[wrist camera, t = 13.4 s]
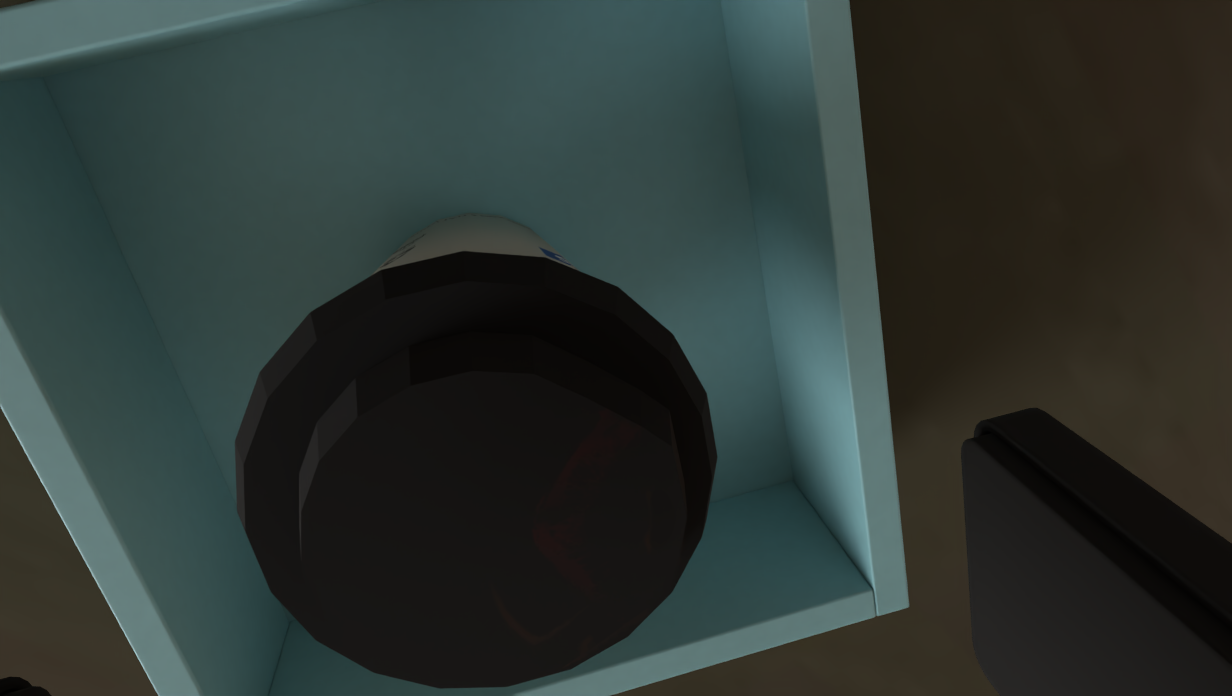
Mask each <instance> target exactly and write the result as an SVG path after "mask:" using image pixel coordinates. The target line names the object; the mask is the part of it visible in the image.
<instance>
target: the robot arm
mask: <svg viewBox="0 0 1232 696" xmlns="http://www.w3.org/2000/svg"><path fill="white" fill-rule="evenodd" d="M961 459H962V475H963V492H964V508H965V525H966V541H967V558H968V574H969V591H970V607H971V624H972V640H973V647H974V650H975V654H976V657H977V659H978V662H979V664H980V666H981V668H982V670H983V672H984V674H985V675H986V677H987V679H988V680H989V681H990V683H991V684H992V685H993V687H994V688H995V689H996V691H997V692H998V693H999V695H1000V696H1232V544H1231V543H1230V542H1229V541H1227V540H1226V539H1224V538H1223V537H1221V536H1220V535H1219V534H1217V533H1216V532H1214V531H1213V530H1212V529H1210V528H1209V527H1207V526H1206V525H1205V524H1203V523H1202V522H1200V521H1199V520H1197V519H1196V518H1195V517H1193V516H1192V515H1190V514H1189V513H1188V512H1186V511H1185V510H1183V509H1182V508H1180V507H1179V506H1178V505H1176V504H1175V503H1173V502H1172V501H1171V500H1169V499H1168V498H1166V497H1165V496H1164V495H1162V494H1161V493H1159V492H1158V491H1156V490H1155V489H1154V488H1152V487H1151V486H1149V485H1148V484H1147V483H1145V482H1144V481H1142V480H1141V479H1139V478H1138V477H1137V476H1135V475H1134V474H1132V473H1131V472H1130V471H1128V470H1127V469H1125V468H1124V467H1123V466H1121V465H1120V464H1118V463H1117V462H1115V461H1114V460H1113V459H1111V458H1110V457H1108V456H1107V455H1106V454H1104V453H1103V452H1101V451H1100V450H1098V449H1097V448H1096V447H1094V446H1093V445H1091V444H1090V443H1089V442H1087V441H1086V440H1084V439H1083V438H1081V437H1080V436H1079V435H1077V434H1076V433H1074V432H1073V431H1072V430H1070V429H1069V428H1067V427H1066V426H1065V425H1063V424H1062V423H1060V422H1059V421H1057V420H1056V419H1055V418H1053V417H1052V416H1050V415H1049V414H1048V413H1046V412H1045V411H1043V410H1040V409H1038V408H1029V409H1025V410H1021V411H1017V412H1013V413H1010V414H1006V415H1002V416H998V417H994V418H991V419H987V420H983V421H981V422H980V423H978V424H977V426H976V428H975V431H974V438H971V439H967V440H966V441H964V442H963V445H962V449H961ZM0 696H51V695H50V694H49V692H48V691H47V690H45V689H44V688H42V687H36V686H33V687H32V686H31V684H30V683H29V682H28V681H26V680H24V679H22V678H20V677H7V678H3V679H0Z"/></svg>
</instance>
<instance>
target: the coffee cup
mask: <svg viewBox="0 0 1232 696" xmlns="http://www.w3.org/2000/svg"><path fill="white" fill-rule="evenodd" d="M717 458H718V456H717V450H716V444H715V438H714V432H713V426H712V420H711V415H710V409H709V403H708V397H707V393H706V391H705V389H704V387H703V386H702V384H701V382H700V380H699V378H698V377H697V375H696V373H695V371H694V370H693V368H692V366H691V364H690V363H689V361H688V359H687V357H686V356H685V354H684V352H683V350H682V349H681V347H680V345H679V343H678V342H677V340H676V338H675V336H674V335H673V334H672V333H671V332H670V331H669V330H668V329H667V328H665V327H664V326H663V325H662V324H661V323H660V322H658V321H657V320H656V319H655V318H654V317H653V316H652V315H650V314H649V313H648V312H647V311H646V310H645V309H643V308H642V307H641V306H640V305H639V304H638V303H636V302H635V301H634V300H633V299H632V298H631V297H629V296H628V295H627V294H626V293H625V292H624V291H622V290H621V289H620V288H619V287H618V286H615V285H613V284H610V283H608V282H605V281H603V280H600V279H598V278H595V277H593V276H590V275H588V274H586V273H583V272H581V271H579V270H578V269H577V268H575V267H574V266H573V265H572V264H571V263H570V262H569V261H568V260H566V259H565V258H564V257H563V256H562V255H561V254H560V253H558V252H557V251H556V250H555V249H554V248H553V247H552V246H550V245H549V244H548V243H547V242H546V241H545V240H543V239H542V238H541V237H540V236H539V235H537V234H536V233H535V232H534V231H533V230H532V229H530V228H529V227H527V226H525V225H522V224H520V223H517V222H515V221H513V220H510V219H508V218H505V217H503V216H501V215H489V214H478V213H466V214H461V215H457V216H452V217H448V218H444V219H439V220H437V221H435V222H433V223H432V224H430V225H428V226H427V227H425V228H423V229H422V230H420V231H418V232H417V233H415V234H413V235H412V236H411V237H409V238H408V239H407V240H406V241H405V242H404V243H403V244H402V245H401V246H400V247H399V248H398V249H397V250H396V251H395V252H394V253H393V254H392V255H391V256H390V257H389V258H388V259H387V260H386V261H385V262H384V263H383V264H382V265H381V266H380V267H379V268H378V269H377V270H376V271H375V272H374V273H373V274H372V275H371V276H370V277H368V278H366V279H365V280H363V281H361V282H360V283H358V284H356V285H355V286H353V287H351V288H350V289H348V290H346V291H345V292H343V293H341V294H340V295H338V296H336V297H335V298H333V299H331V300H330V301H328V302H326V303H325V304H323V305H321V306H320V307H318V308H316V309H314V310H313V311H311V312H310V313H309V314H308V315H307V316H306V318H305V319H304V320H303V321H302V322H301V324H300V325H299V326H298V327H297V328H296V329H295V331H294V332H293V333H292V334H291V335H290V337H289V338H288V339H287V340H286V341H285V342H284V344H283V345H282V346H281V347H280V348H279V350H278V351H277V352H276V353H275V354H274V355H273V357H272V358H271V359H270V360H269V361H268V363H267V364H266V365H265V366H264V367H263V369H262V370H261V371H260V372H259V375H258V378H257V381H256V383H255V386H254V389H253V392H252V394H251V397H250V400H249V403H248V406H247V408H246V411H245V414H244V417H243V420H242V422H241V425H240V428H239V431H238V434H237V436H236V439H235V466H236V497H237V513H238V515H239V518H240V520H241V523H242V525H243V527H244V530H245V532H246V535H247V537H248V539H249V542H250V544H251V546H252V549H253V551H254V554H255V556H256V558H257V561H258V563H259V565H260V568H261V570H262V572H263V575H264V577H265V579H266V582H267V584H268V586H269V589H270V591H271V593H272V594H273V595H274V596H275V597H276V598H277V599H278V600H279V601H280V603H281V604H282V605H283V606H284V607H285V608H286V609H287V610H288V611H289V612H290V613H291V614H292V615H293V616H294V618H295V619H296V620H297V621H298V622H299V623H300V624H301V625H302V626H303V627H304V628H305V629H306V630H307V632H308V633H309V634H310V635H311V636H312V637H313V638H314V639H315V640H316V641H318V642H319V643H321V644H323V645H325V646H327V647H328V648H330V649H332V650H334V651H336V652H337V653H339V654H341V655H343V656H344V657H346V658H348V659H350V660H352V661H353V662H355V663H357V664H359V665H360V666H362V667H364V668H366V669H368V670H369V671H371V672H373V673H376V674H380V675H384V676H388V677H393V678H397V679H401V680H405V681H409V682H414V683H418V684H422V685H426V686H430V687H435V688H439V689H444V688H490V687H509V686H513V685H516V684H520V683H523V682H527V681H531V680H534V679H538V678H542V677H545V676H549V675H553V674H556V673H560V672H563V671H567V670H571V669H573V668H574V667H576V666H578V665H580V664H581V663H583V662H585V661H587V660H588V659H590V658H592V657H593V656H595V655H597V654H599V653H600V652H602V651H604V650H606V649H607V648H609V647H611V646H613V645H614V644H616V643H618V642H620V641H621V640H623V639H625V638H627V637H628V636H629V635H630V634H631V633H632V632H633V631H634V630H635V629H636V628H637V627H638V626H639V625H640V624H641V623H642V622H643V621H644V620H645V619H646V618H647V617H648V616H649V615H650V614H651V613H652V612H653V611H654V610H655V609H656V608H657V607H658V606H659V605H660V604H661V603H662V602H663V601H664V600H665V599H666V598H667V597H668V596H669V595H670V594H671V593H672V592H673V590H674V588H675V586H676V585H677V583H678V581H679V579H680V577H681V575H682V573H683V572H684V570H685V568H686V566H687V564H688V562H689V560H690V559H691V557H692V555H693V553H694V551H695V549H696V548H697V546H698V544H699V542H700V540H701V538H702V535H703V531H704V527H705V523H706V520H707V514H708V509H709V503H710V497H711V492H712V486H713V480H714V475H715V469H716V463H717Z"/></svg>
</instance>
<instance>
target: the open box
mask: <svg viewBox="0 0 1232 696" xmlns="http://www.w3.org/2000/svg"><path fill="white" fill-rule="evenodd" d="M466 213H478V214H489V215H501V216H503V217H505V218H508V219H510V220H513V221H515V222H517V223H520V224H522V225H525V226H527V227H529V228H530V229H532V230H533V231H534V232H535V233H536V234H537V235H539V236H540V237H541V238H542V239H543V240H545V241H546V242H547V243H548V244H549V245H550V246H552V247H553V248H554V249H555V250H556V251H557V252H558V253H560V254H561V255H562V256H563V257H564V258H565V259H566V260H568V261H569V262H570V263H571V264H572V265H573V266H574V267H575V268H577V269H578V270H579V271H581V272H583V273H586V274H588V275H590V276H593V277H595V278H598V279H600V280H603V281H605V282H608V283H610V284H613V285H615V286H618V287H619V288H620V289H621V290H622V291H624V292H625V293H626V294H627V295H628V296H629V297H631V298H632V299H633V300H634V301H635V302H636V303H638V304H639V305H640V306H641V307H642V308H643V309H645V310H646V311H647V312H648V313H649V314H650V315H652V316H653V317H654V318H655V319H656V320H657V321H658V322H660V323H661V324H662V325H663V326H664V327H665V328H667V329H668V330H669V331H670V332H671V333H672V334H673V335H674V336H675V338H676V340H677V342H678V343H679V345H680V347H681V349H682V350H683V352H684V354H685V356H686V357H687V359H688V361H689V363H690V364H691V366H692V368H693V370H694V371H695V373H696V375H697V377H698V378H699V380H700V382H701V384H702V386H703V387H704V389H705V391H706V393H707V397H708V403H709V409H710V415H711V420H712V426H713V432H714V438H715V444H716V450H717V456H718V458H717V463H716V469H715V475H714V480H713V486H712V492H711V497H710V503H709V509H708V514H707V520H706V523H705V527H704V531H703V535H702V538H701V540H700V542H699V544H698V546H697V548H696V549H695V551H694V553H693V555H692V557H691V559H690V560H689V562H688V564H687V566H686V568H685V570H684V572H683V573H682V575H681V577H680V579H679V581H678V583H677V585H676V586H675V588H674V590H673V592H672V593H671V594H670V595H669V596H668V597H667V598H666V599H665V600H664V601H663V602H662V603H661V604H660V605H659V606H658V607H657V608H656V609H655V610H654V611H653V612H652V613H651V614H650V615H649V616H648V617H647V618H646V619H645V620H644V621H643V622H642V623H641V624H640V625H639V626H638V627H637V628H636V629H635V630H634V631H633V632H632V633H631V634H630V635H629V636H628V637H627V638H625V639H623V640H621V641H620V642H618V643H616V644H614V645H613V646H611V647H609V648H607V649H606V650H604V651H602V652H600V653H599V654H597V655H595V656H593V657H592V658H590V659H588V660H587V661H585V662H583V663H581V664H580V665H578V666H576V667H574V668H573V669H571V670H567V671H563V672H560V673H556V674H553V675H549V676H545V677H542V678H538V679H534V680H531V681H527V682H523V683H520V684H516V685H513V686H509V687H490V688H444V689H439V688H435V687H430V686H426V685H422V684H418V683H414V682H409V681H405V680H401V679H397V678H393V677H388V676H384V675H380V674H376V673H373V672H371V671H369V670H368V669H366V668H364V667H362V666H360V665H359V664H357V663H355V662H353V661H352V660H350V659H348V658H346V657H344V656H343V655H341V654H339V653H337V652H336V651H334V650H332V649H330V648H328V647H327V646H325V645H323V644H321V643H319V642H318V641H316V640H315V639H314V638H313V637H312V636H311V635H310V634H309V633H308V632H307V630H306V629H305V628H304V627H303V626H302V625H301V624H300V623H299V622H298V621H297V620H296V619H295V618H294V616H293V615H292V614H291V613H290V612H289V611H288V610H287V609H286V608H285V607H284V606H283V605H282V604H281V603H280V601H279V600H278V599H277V598H276V597H275V596H274V595H273V594H272V593H271V591H270V589H269V586H268V584H267V582H266V579H265V577H264V575H263V572H262V570H261V568H260V565H259V563H258V561H257V558H256V556H255V554H254V551H253V549H252V546H251V544H250V542H249V539H248V537H247V535H246V532H245V530H244V527H243V525H242V523H241V520H240V518H239V515H238V513H237V497H236V466H235V439H236V436H237V434H238V431H239V428H240V425H241V422H242V420H243V417H244V414H245V411H246V408H247V406H248V403H249V400H250V397H251V394H252V392H253V389H254V386H255V383H256V381H257V378H258V375H259V372H260V371H261V370H262V369H263V367H264V366H265V365H266V364H267V363H268V361H269V360H270V359H271V358H272V357H273V355H274V354H275V353H276V352H277V351H278V350H279V348H280V347H281V346H282V345H283V344H284V342H285V341H286V340H287V339H288V338H289V337H290V335H291V334H292V333H293V332H294V331H295V329H296V328H297V327H298V326H299V325H300V324H301V322H302V321H303V320H304V319H305V318H306V316H307V315H308V314H309V313H310V312H311V311H313V310H314V309H316V308H318V307H320V306H321V305H323V304H325V303H326V302H328V301H330V300H331V299H333V298H335V297H336V296H338V295H340V294H341V293H343V292H345V291H346V290H348V289H350V288H351V287H353V286H355V285H356V284H358V283H360V282H361V281H363V280H365V279H366V278H368V277H370V276H371V275H372V274H373V273H374V272H375V271H376V270H377V269H378V268H379V267H380V266H381V265H382V264H383V263H384V262H385V261H386V260H387V259H388V258H389V257H390V256H391V255H392V254H393V253H394V252H395V251H396V250H397V249H398V248H399V247H400V246H401V245H402V244H403V243H404V242H405V241H406V240H407V239H408V238H409V237H411V236H412V235H413V234H415V233H417V232H418V231H420V230H422V229H423V228H425V227H427V226H428V225H430V224H432V223H433V222H435V221H437V220H439V219H444V218H448V217H452V216H457V215H461V214H466ZM0 407H1V409H2V411H3V413H4V414H5V416H6V418H7V420H8V422H9V423H10V425H11V427H12V429H13V431H14V433H15V434H16V436H17V438H18V440H19V442H20V444H21V445H22V447H23V449H24V451H25V453H26V455H27V456H28V458H29V460H30V462H31V464H32V466H33V467H34V469H35V471H36V473H37V475H38V476H39V478H40V480H41V482H42V484H43V486H44V487H45V489H46V491H47V493H48V495H49V497H50V498H51V500H52V502H53V504H54V506H55V508H56V509H57V511H58V513H59V515H60V517H61V518H62V520H63V522H64V524H65V526H66V528H67V529H68V531H69V533H70V535H71V537H72V539H73V540H74V542H75V544H76V546H77V548H78V550H79V551H80V553H81V555H82V557H83V559H84V561H85V562H86V564H87V566H88V568H89V570H90V571H91V573H92V575H93V577H94V579H95V581H96V582H97V584H98V586H99V588H100V590H101V592H102V593H103V595H104V597H105V599H106V601H107V603H108V604H109V606H110V608H111V610H112V612H113V614H114V615H115V617H116V619H117V621H118V623H119V624H120V626H121V628H122V630H123V632H124V634H125V635H126V637H127V639H128V641H129V643H130V645H131V646H132V648H133V650H134V652H135V654H136V656H137V657H138V659H139V661H140V663H141V665H142V667H143V668H144V670H145V672H146V674H147V676H148V677H149V679H150V681H151V683H152V685H153V687H154V688H155V690H156V692H157V694H158V696H610V695H613V694H617V693H620V692H624V691H627V690H630V689H634V688H637V687H640V686H644V685H647V684H651V683H654V682H657V681H661V680H664V679H667V678H671V677H674V676H677V675H681V674H684V673H688V672H691V671H694V670H698V669H701V668H704V667H708V666H711V665H715V664H718V663H721V662H725V661H728V660H731V659H735V658H738V657H742V656H745V655H748V654H752V653H755V652H758V651H762V650H765V649H769V648H772V647H775V646H779V645H782V644H785V643H789V642H792V641H796V640H799V639H802V638H806V637H809V636H812V635H816V634H819V633H823V632H826V631H829V630H833V629H836V628H839V627H843V626H846V625H849V624H853V623H856V622H860V621H863V620H866V619H870V618H873V617H875V616H876V615H877V616H880V615H884V614H887V613H890V612H894V611H897V610H901V609H904V608H907V607H909V598H908V588H907V577H906V567H905V557H904V547H903V537H902V527H901V517H900V507H899V497H898V487H897V477H896V467H895V456H894V446H893V436H892V426H891V416H890V406H889V396H888V386H887V376H886V366H885V356H884V346H883V336H882V325H881V315H880V305H879V295H878V285H877V275H876V265H875V255H874V245H873V235H872V225H871V215H870V204H869V194H868V184H867V174H866V164H865V154H864V144H863V134H862V124H861V114H860V104H859V94H858V84H857V73H856V63H855V53H854V43H853V33H852V23H851V13H850V3H849V0H36V1H31V2H27V3H22V4H17V5H13V6H8V7H4V8H0Z"/></svg>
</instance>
